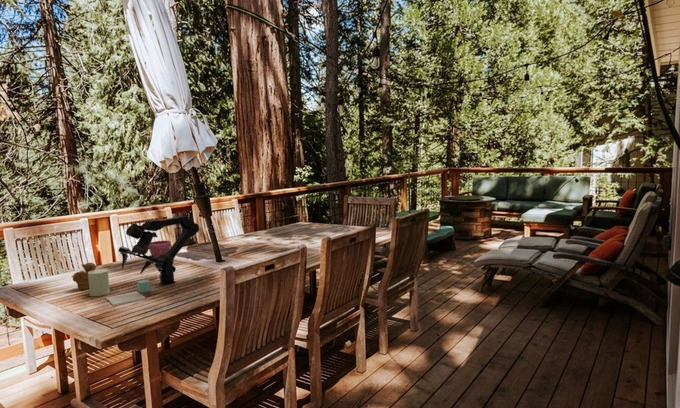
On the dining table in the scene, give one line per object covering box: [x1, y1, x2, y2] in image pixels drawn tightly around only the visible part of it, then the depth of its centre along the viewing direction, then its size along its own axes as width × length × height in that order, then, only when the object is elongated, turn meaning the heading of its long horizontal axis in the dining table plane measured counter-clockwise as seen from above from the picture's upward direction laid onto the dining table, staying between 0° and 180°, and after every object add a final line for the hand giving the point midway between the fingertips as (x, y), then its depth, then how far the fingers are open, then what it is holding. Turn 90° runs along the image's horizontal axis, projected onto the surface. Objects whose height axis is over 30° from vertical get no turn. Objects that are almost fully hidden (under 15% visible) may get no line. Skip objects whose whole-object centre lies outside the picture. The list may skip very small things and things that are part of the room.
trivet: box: [105, 290, 146, 307], centre depth 205 cm, size 14×14×1 cm
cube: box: [136, 279, 152, 294], centre depth 218 cm, size 5×5×5 cm
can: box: [88, 268, 111, 297], centre depth 215 cm, size 9×9×12 cm
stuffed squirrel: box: [71, 262, 99, 291], centre depth 225 cm, size 10×14×13 cm
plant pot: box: [148, 240, 172, 258], centre depth 285 cm, size 14×14×13 cm
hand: (131, 270), depth 214 cm, fingers open, 9 cm apart
